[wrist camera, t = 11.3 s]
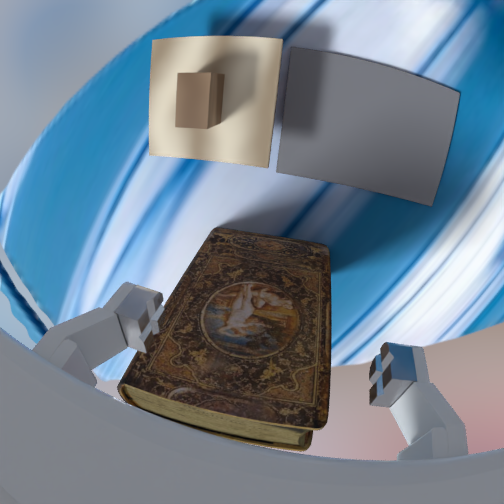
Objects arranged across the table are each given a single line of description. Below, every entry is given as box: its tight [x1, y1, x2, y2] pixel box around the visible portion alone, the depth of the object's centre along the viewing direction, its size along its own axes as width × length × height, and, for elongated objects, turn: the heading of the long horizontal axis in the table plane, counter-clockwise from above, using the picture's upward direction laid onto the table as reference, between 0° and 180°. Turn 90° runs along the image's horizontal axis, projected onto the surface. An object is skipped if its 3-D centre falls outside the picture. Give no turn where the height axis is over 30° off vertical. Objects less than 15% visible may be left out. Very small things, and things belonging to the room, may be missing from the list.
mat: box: [276, 47, 460, 207], centre depth 28 cm, size 20×15×1 cm
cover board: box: [149, 36, 283, 168], centre depth 24 cm, size 13×13×5 cm
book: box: [117, 227, 331, 451], centre depth 30 cm, size 16×6×25 cm, turn 86°
